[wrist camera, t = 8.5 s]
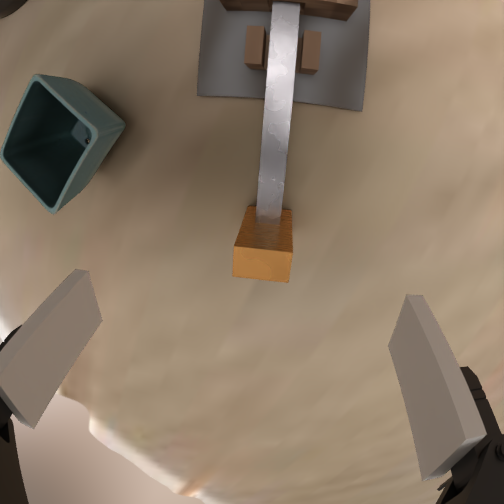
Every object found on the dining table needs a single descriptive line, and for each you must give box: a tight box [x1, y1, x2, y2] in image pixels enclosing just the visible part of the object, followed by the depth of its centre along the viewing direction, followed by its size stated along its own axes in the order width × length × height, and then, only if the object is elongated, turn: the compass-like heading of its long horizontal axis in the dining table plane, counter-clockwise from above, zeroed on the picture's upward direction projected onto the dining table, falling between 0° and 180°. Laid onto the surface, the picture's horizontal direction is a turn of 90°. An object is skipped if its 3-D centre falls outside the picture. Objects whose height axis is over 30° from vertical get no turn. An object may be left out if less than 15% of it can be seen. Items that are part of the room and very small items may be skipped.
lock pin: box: [233, 1, 300, 283], centre depth 22 cm, size 4×20×9 cm, turn 176°
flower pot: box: [0, 74, 125, 214], centre depth 23 cm, size 9×9×9 cm
